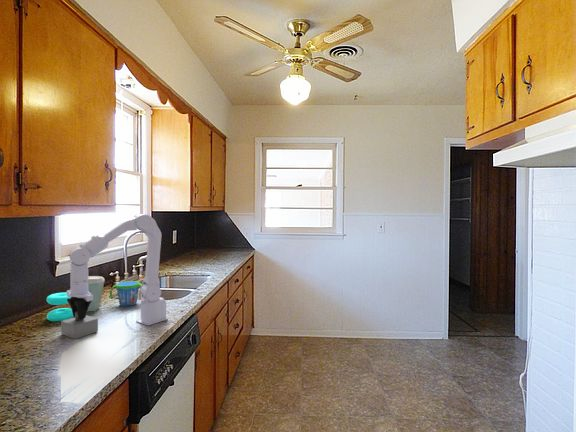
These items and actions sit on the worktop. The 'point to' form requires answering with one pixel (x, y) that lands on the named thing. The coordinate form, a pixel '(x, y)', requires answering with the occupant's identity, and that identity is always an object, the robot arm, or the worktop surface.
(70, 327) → the grey block
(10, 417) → the worktop surface
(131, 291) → the snack cup
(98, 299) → the disposable coffee cup
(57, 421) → the worktop surface
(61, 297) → the donuts
